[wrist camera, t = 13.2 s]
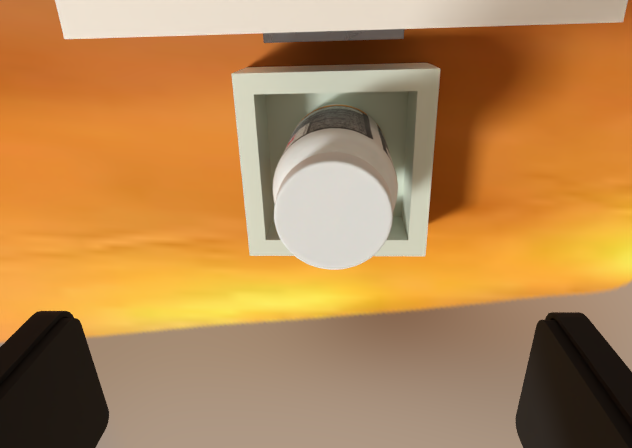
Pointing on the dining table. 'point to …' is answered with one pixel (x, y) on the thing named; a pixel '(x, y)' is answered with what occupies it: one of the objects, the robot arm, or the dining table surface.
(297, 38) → the board
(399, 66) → the pale green square tray
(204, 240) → the dining table surface
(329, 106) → the pill bottle
